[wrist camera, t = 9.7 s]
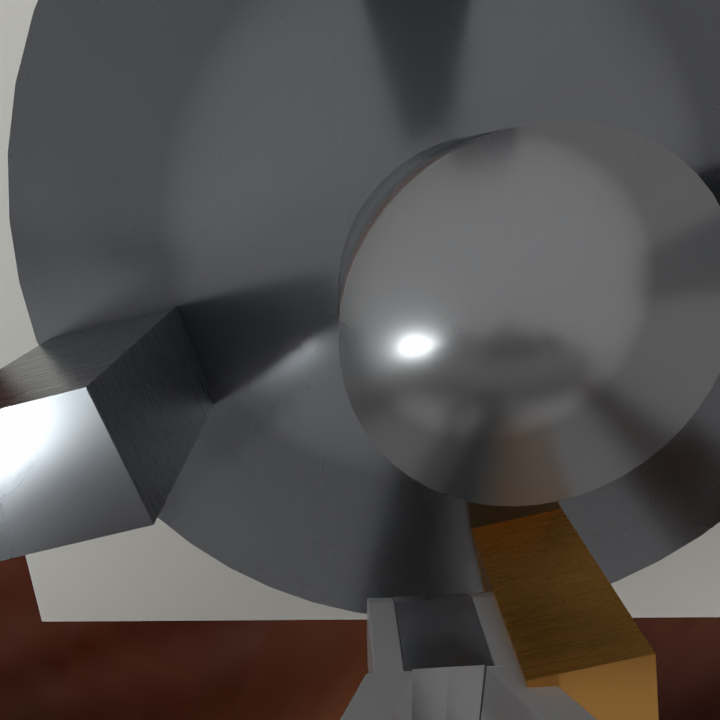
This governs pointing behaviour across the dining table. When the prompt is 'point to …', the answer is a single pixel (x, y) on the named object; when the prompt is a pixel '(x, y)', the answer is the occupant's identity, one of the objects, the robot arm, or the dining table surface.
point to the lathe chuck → (377, 301)
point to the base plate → (190, 564)
